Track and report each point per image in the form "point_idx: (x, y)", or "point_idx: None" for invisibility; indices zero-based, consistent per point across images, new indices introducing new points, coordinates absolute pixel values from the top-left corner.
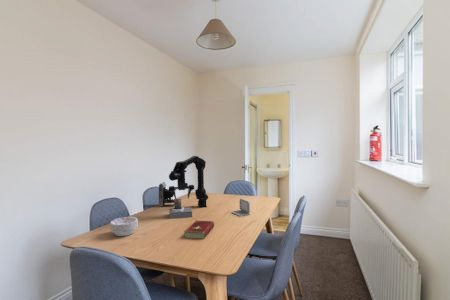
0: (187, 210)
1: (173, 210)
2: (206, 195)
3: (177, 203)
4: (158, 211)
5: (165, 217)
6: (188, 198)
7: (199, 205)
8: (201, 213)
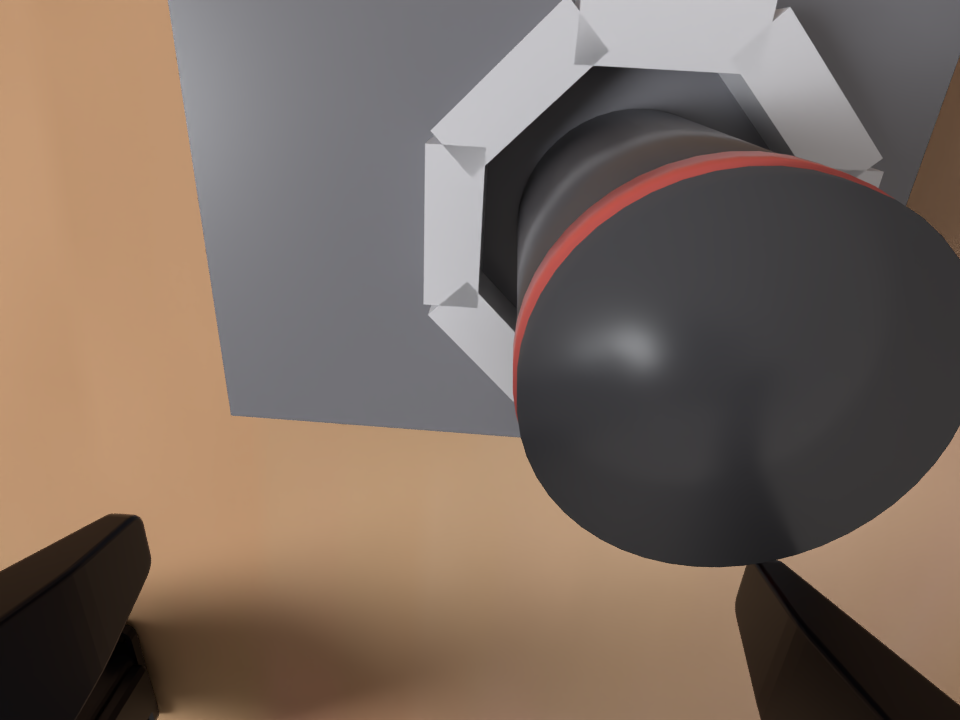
0: (320, 86)
1: (824, 85)
2: None
3: (738, 145)
4: (916, 634)
5: (950, 130)
6: (102, 519)
7: (113, 671)
8: (23, 199)
